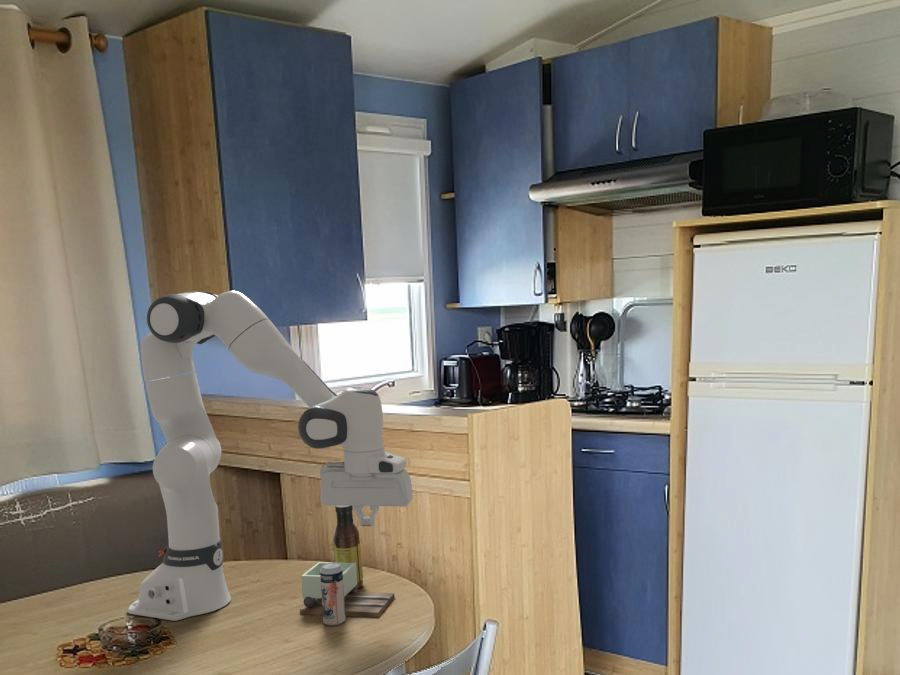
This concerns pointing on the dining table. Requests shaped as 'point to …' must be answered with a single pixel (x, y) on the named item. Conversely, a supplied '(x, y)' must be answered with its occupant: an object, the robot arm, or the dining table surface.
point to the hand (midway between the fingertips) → (367, 525)
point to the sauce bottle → (347, 541)
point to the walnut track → (357, 604)
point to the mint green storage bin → (313, 582)
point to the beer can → (332, 594)
